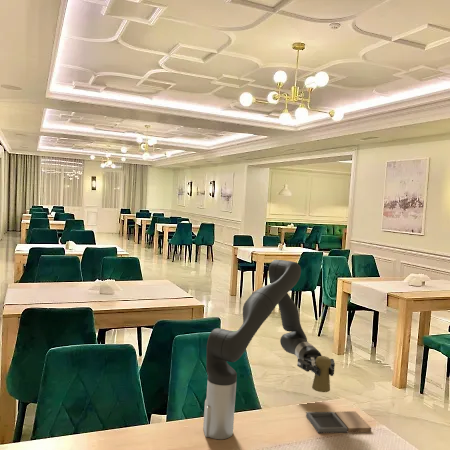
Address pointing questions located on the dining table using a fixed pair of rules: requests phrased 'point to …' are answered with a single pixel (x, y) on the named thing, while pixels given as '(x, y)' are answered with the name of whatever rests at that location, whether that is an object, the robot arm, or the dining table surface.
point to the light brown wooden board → (353, 421)
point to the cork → (322, 375)
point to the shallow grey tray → (326, 422)
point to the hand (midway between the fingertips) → (325, 373)
